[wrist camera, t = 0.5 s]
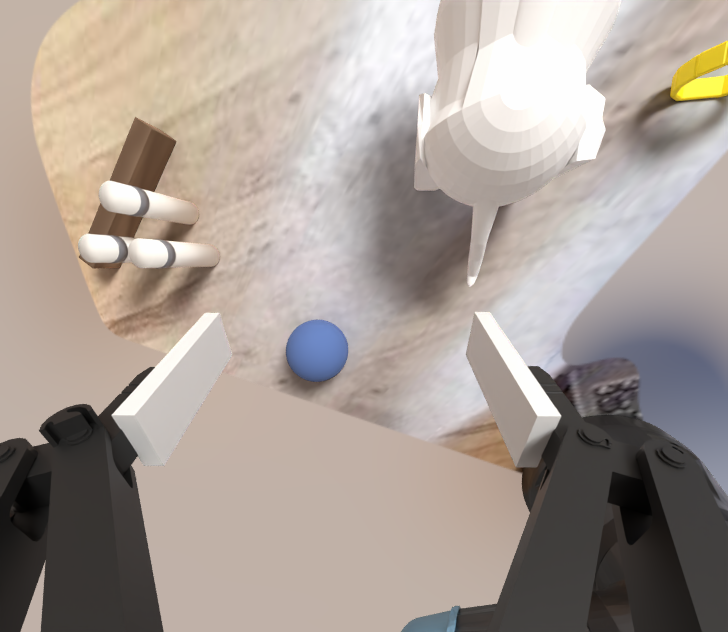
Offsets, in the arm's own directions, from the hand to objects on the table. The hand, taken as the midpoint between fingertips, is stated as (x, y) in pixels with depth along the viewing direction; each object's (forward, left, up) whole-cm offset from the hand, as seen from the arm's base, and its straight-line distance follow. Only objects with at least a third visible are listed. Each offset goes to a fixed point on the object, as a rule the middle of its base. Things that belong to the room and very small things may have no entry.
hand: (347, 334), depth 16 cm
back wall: (+19, +22, -15) cm, 33 cm away
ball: (-2, +7, -12) cm, 14 cm away
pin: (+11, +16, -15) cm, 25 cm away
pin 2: (+16, +17, -15) cm, 27 cm away
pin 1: (+13, +21, -15) cm, 29 cm away
